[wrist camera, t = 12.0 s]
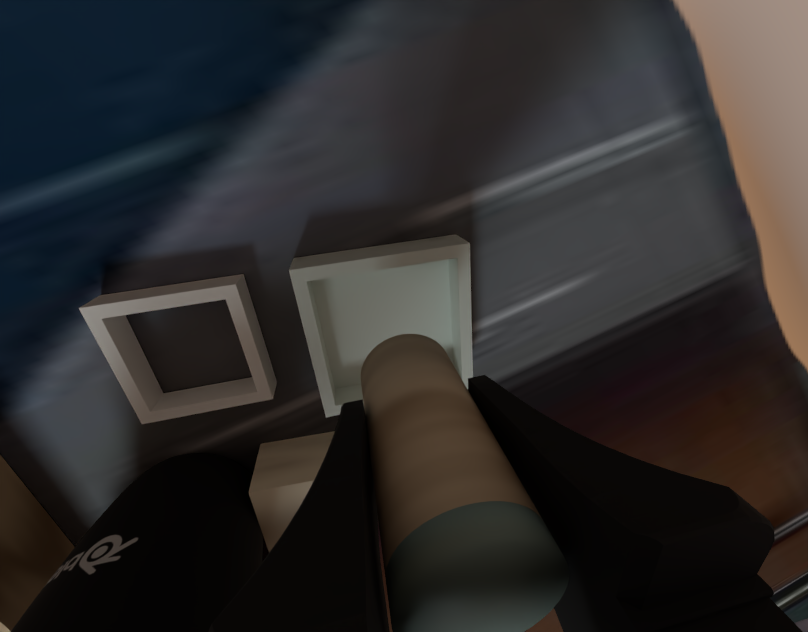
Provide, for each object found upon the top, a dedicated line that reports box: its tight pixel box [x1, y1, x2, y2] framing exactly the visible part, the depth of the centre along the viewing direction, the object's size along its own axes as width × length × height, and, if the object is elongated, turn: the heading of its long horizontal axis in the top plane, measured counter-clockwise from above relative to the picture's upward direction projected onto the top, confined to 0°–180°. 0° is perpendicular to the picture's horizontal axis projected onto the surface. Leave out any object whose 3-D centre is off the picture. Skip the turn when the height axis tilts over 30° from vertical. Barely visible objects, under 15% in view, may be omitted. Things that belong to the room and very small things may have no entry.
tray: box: [289, 234, 473, 417], centre depth 18 cm, size 8×8×2 cm
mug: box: [11, 454, 263, 632], centre depth 17 cm, size 12×9×10 cm
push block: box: [248, 431, 335, 552], centre depth 21 cm, size 7×6×4 cm
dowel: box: [361, 334, 570, 632], centre depth 10 cm, size 4×4×8 cm
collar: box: [79, 274, 277, 424], centre depth 17 cm, size 6×6×2 cm
